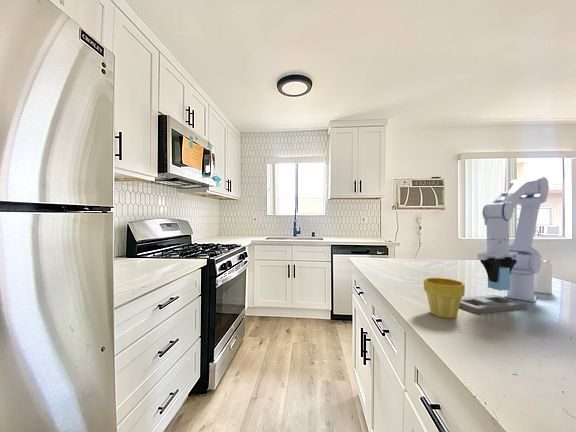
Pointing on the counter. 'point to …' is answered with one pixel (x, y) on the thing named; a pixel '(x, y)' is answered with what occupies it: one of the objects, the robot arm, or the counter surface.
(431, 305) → the plant pot
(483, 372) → the counter surface
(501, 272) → the plug
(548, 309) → the counter surface
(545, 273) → the can
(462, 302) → the holder plate
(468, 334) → the counter surface
